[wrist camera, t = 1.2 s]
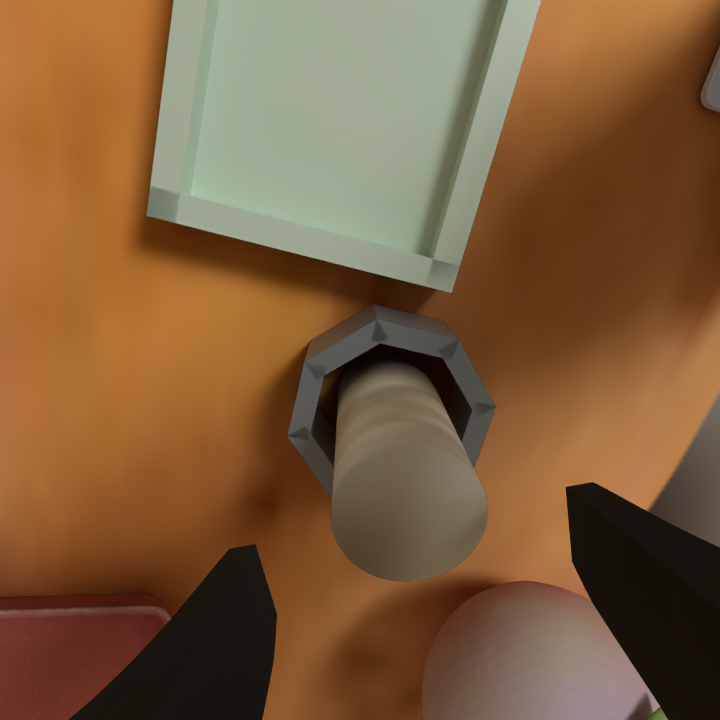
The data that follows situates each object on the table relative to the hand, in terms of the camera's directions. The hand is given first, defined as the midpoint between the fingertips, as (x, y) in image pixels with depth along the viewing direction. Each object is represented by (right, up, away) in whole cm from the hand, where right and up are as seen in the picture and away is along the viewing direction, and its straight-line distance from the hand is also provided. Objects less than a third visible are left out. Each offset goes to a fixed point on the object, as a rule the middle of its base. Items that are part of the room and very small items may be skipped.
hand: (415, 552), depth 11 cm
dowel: (0, +3, +10) cm, 10 cm away
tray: (-2, +14, +6) cm, 16 cm away
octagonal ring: (0, +3, +10) cm, 10 cm away
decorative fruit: (+5, -8, +13) cm, 16 cm away
